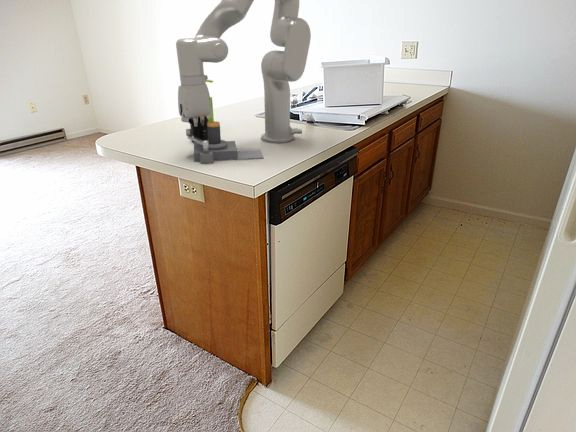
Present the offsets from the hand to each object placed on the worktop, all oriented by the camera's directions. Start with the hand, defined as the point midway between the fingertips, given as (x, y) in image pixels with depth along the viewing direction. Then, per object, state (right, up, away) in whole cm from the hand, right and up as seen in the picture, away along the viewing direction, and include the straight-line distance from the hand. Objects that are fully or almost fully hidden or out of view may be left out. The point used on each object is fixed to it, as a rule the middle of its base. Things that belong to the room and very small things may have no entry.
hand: (198, 137), depth 140 cm
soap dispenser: (-3, +9, +32) cm, 33 cm away
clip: (0, -4, -4) cm, 6 cm away
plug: (+6, -6, +1) cm, 8 cm away
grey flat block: (+6, -7, 0) cm, 9 cm away
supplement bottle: (-3, +2, +17) cm, 17 cm away
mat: (+17, -6, +1) cm, 18 cm away
